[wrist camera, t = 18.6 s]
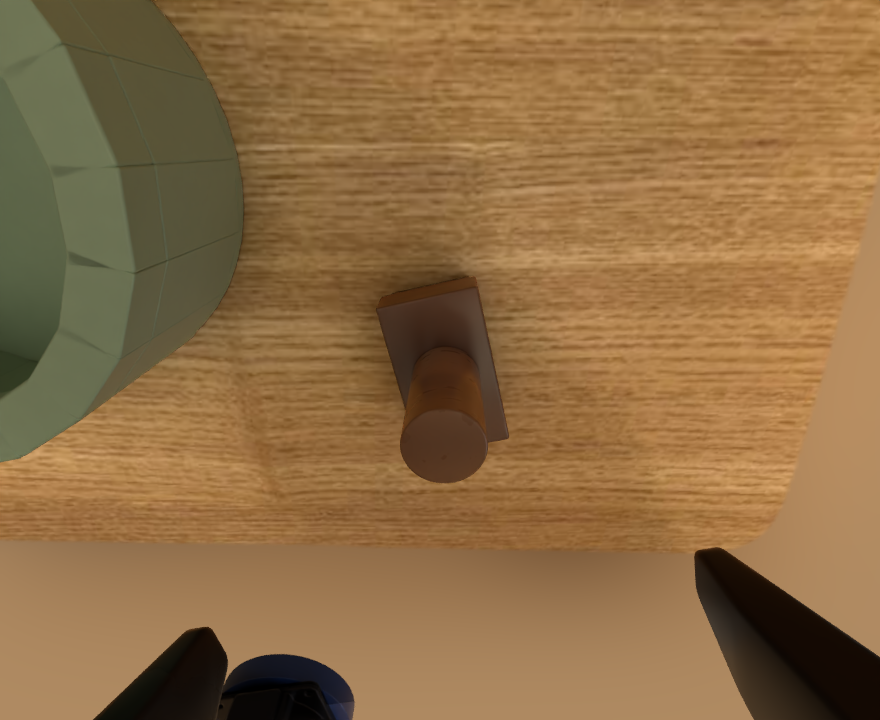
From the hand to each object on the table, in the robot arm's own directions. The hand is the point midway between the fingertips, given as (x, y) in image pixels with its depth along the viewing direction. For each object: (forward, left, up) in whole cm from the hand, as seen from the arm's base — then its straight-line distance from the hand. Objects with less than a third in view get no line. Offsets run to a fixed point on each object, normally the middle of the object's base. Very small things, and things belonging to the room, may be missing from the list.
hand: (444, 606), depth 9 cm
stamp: (0, 0, -12) cm, 12 cm away
